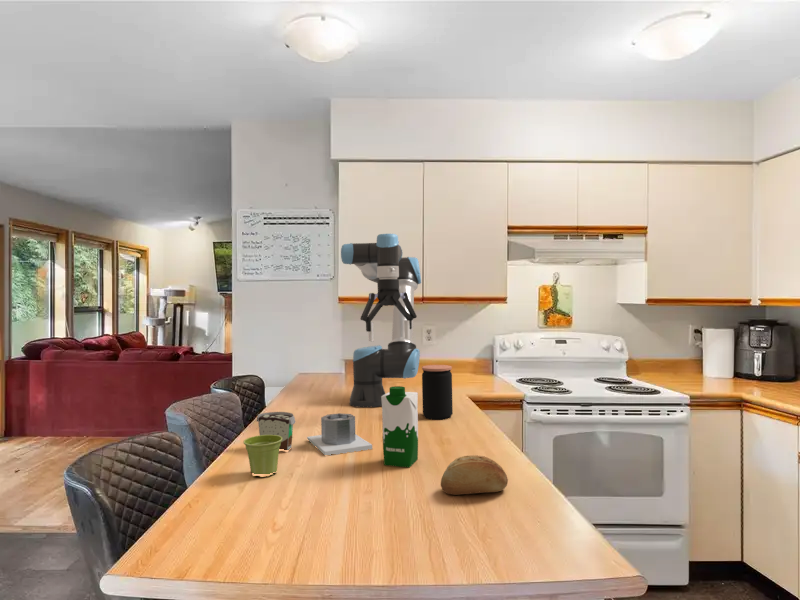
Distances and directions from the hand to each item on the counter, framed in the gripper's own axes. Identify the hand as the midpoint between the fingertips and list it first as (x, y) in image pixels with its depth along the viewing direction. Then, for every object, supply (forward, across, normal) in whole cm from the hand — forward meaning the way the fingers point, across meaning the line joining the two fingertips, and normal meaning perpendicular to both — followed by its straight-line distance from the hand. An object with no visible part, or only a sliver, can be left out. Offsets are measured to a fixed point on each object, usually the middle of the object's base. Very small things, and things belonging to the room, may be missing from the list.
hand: (389, 340), depth 186 cm
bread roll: (+28, -11, -70) cm, 76 cm away
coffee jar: (+29, +17, -2) cm, 34 cm away
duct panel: (+28, -25, -19) cm, 42 cm away
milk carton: (+28, -16, -43) cm, 54 cm away
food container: (+28, -42, -14) cm, 52 cm away
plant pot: (+28, -50, -35) cm, 68 cm away
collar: (+27, -26, -19) cm, 42 cm away
